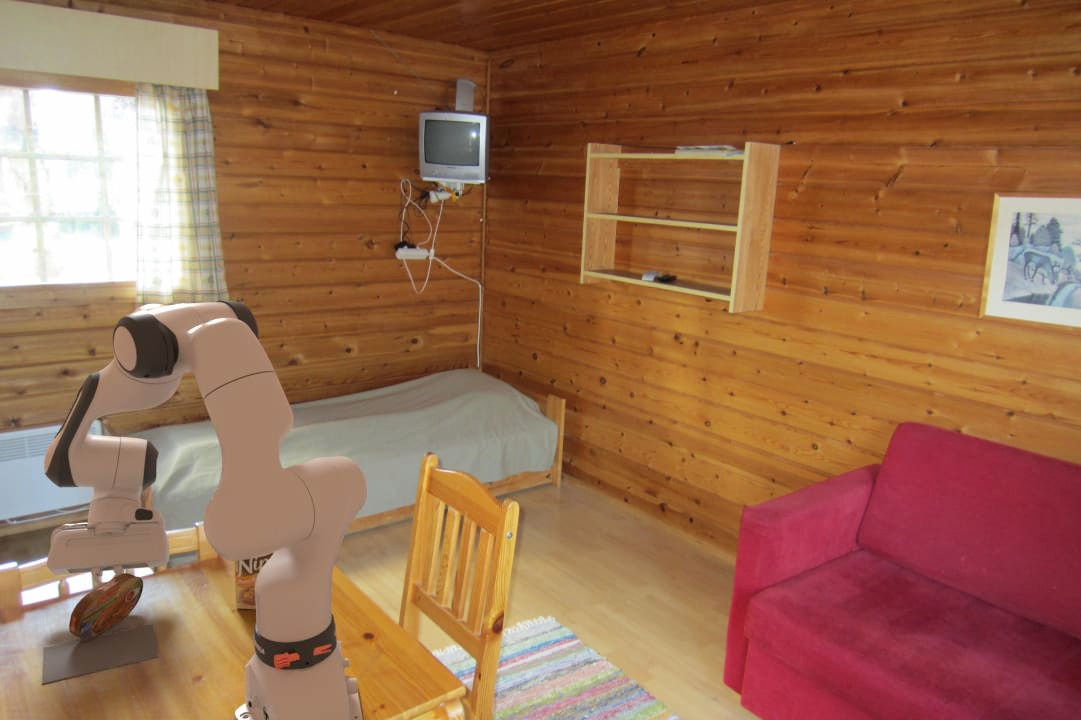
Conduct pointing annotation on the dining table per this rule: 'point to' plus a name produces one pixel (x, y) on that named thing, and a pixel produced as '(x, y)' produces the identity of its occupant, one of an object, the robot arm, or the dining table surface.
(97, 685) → the dining table surface
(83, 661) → the felt mat
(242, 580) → the candy box
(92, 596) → the tin
